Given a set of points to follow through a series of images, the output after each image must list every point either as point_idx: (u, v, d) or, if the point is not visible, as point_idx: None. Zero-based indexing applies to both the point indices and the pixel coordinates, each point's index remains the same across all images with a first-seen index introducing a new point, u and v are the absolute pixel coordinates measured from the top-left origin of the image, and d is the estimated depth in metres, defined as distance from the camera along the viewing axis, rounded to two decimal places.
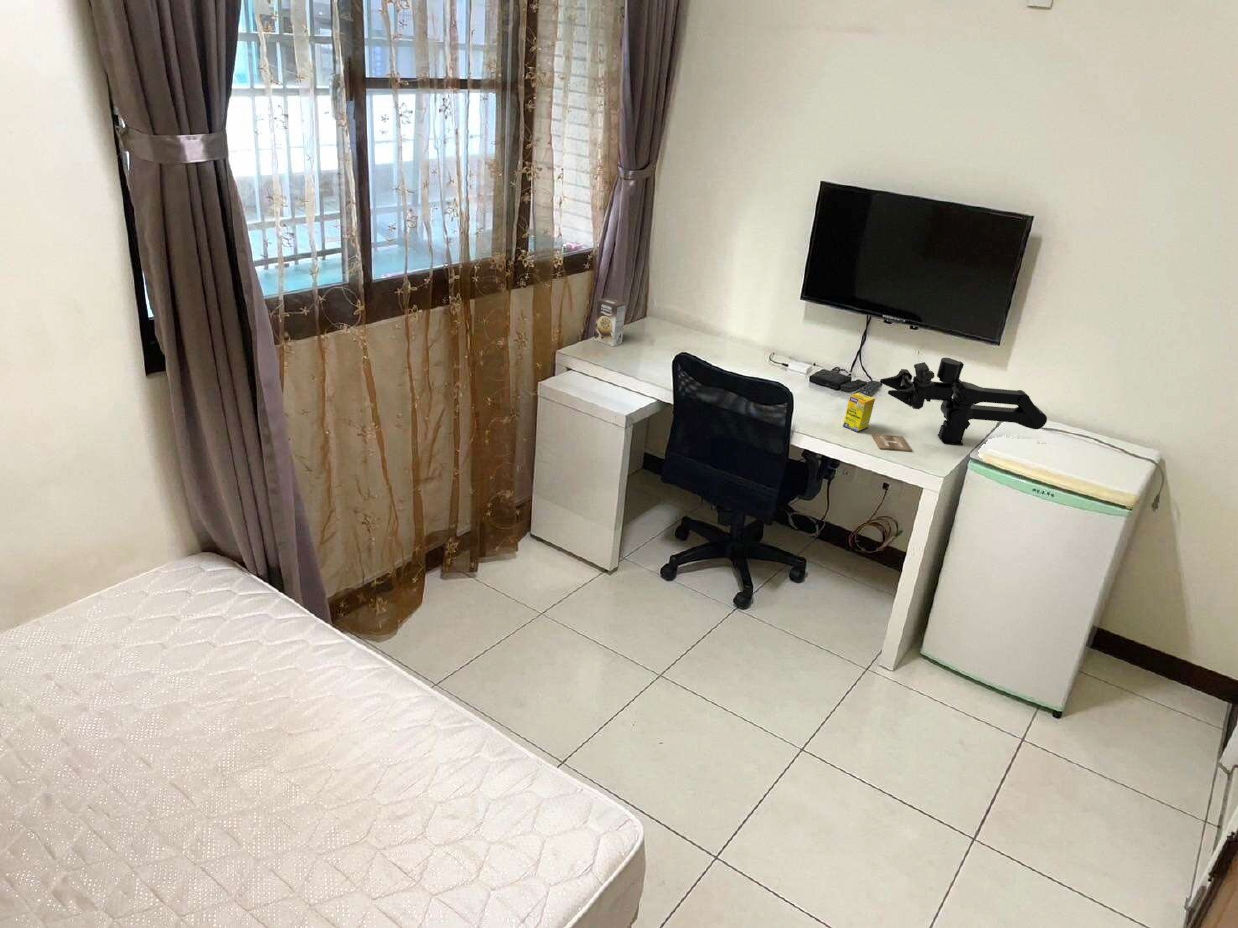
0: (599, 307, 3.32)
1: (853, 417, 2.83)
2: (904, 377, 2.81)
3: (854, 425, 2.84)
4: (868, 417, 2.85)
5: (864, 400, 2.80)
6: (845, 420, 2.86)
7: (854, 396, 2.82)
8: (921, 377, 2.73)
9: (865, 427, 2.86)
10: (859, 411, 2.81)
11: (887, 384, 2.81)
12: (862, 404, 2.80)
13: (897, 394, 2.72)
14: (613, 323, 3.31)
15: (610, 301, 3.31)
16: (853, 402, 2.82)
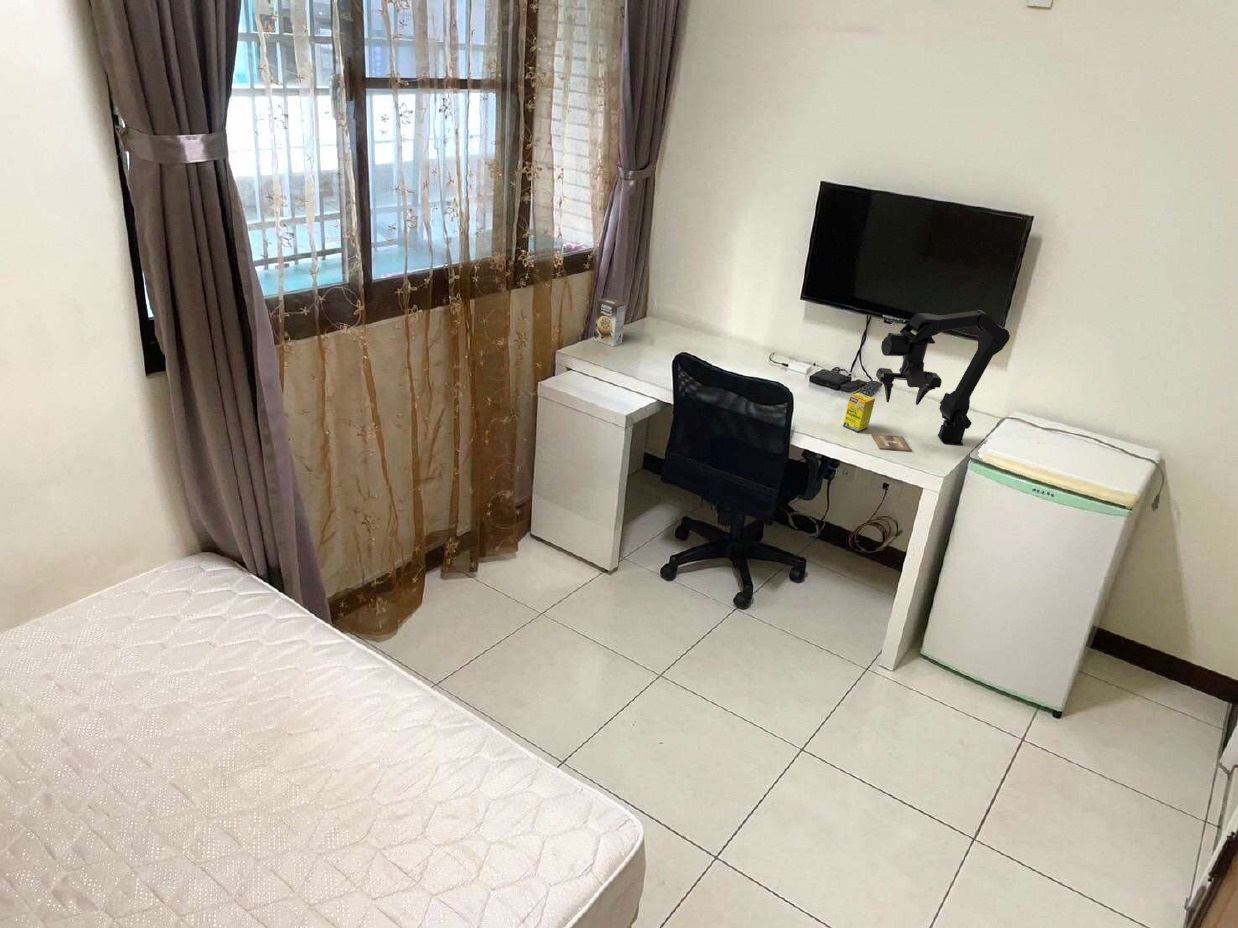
0: (599, 307, 3.32)
1: (853, 417, 2.83)
2: None
3: (854, 425, 2.84)
4: (868, 417, 2.85)
5: (864, 400, 2.80)
6: (845, 420, 2.86)
7: (854, 396, 2.82)
8: None
9: (865, 427, 2.86)
10: (859, 411, 2.81)
11: None
12: (862, 404, 2.80)
13: None
14: (613, 323, 3.31)
15: (610, 301, 3.31)
16: (853, 402, 2.82)
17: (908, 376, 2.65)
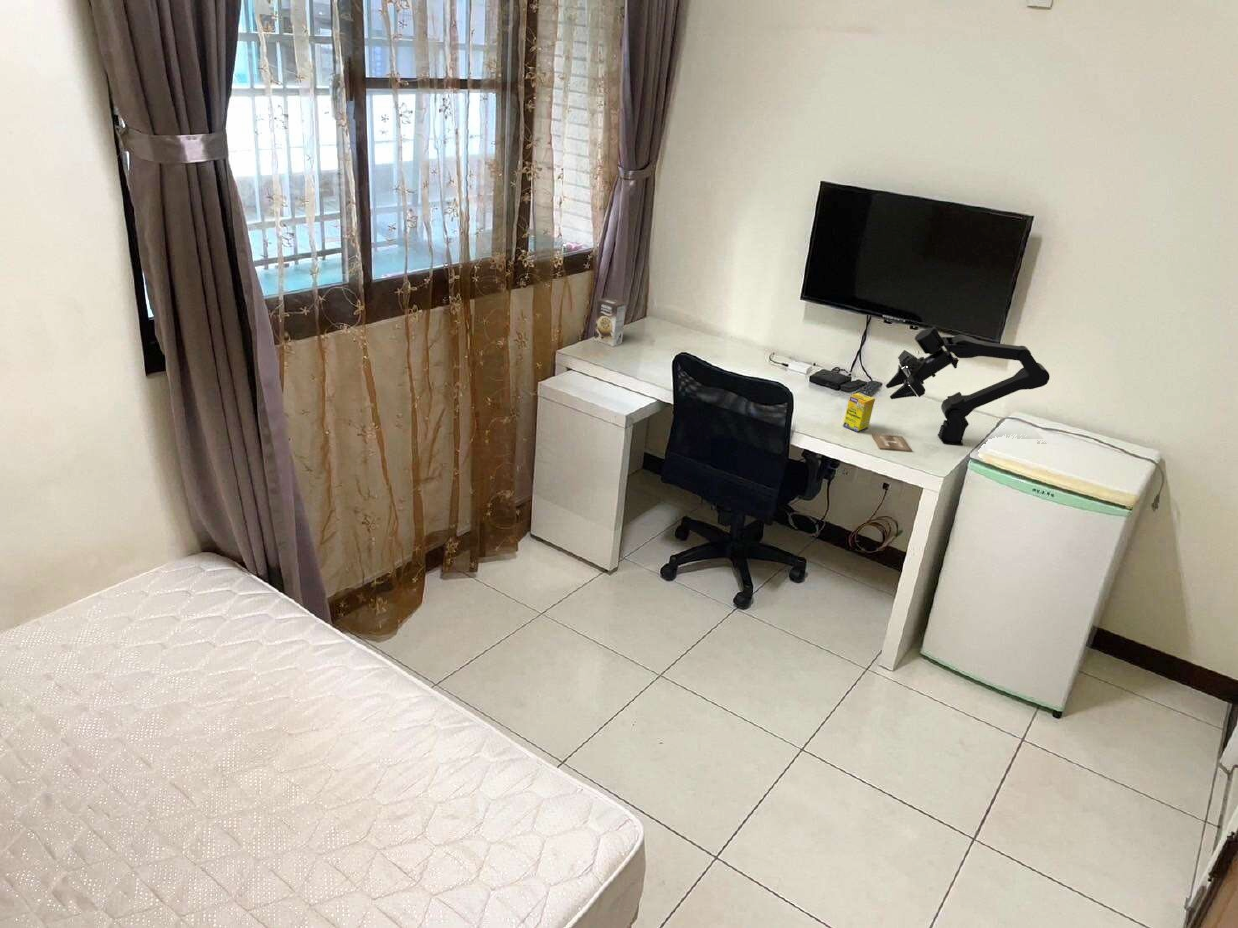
0: (599, 307, 3.32)
1: (853, 417, 2.83)
2: (904, 368, 2.82)
3: (854, 425, 2.84)
4: (868, 417, 2.85)
5: (864, 400, 2.80)
6: (845, 420, 2.86)
7: (854, 396, 2.82)
8: (908, 365, 2.74)
9: (865, 427, 2.86)
10: (859, 411, 2.81)
11: (895, 385, 2.84)
12: (862, 404, 2.80)
13: (898, 394, 2.75)
14: (613, 323, 3.31)
15: (610, 301, 3.31)
16: (853, 402, 2.82)
17: None
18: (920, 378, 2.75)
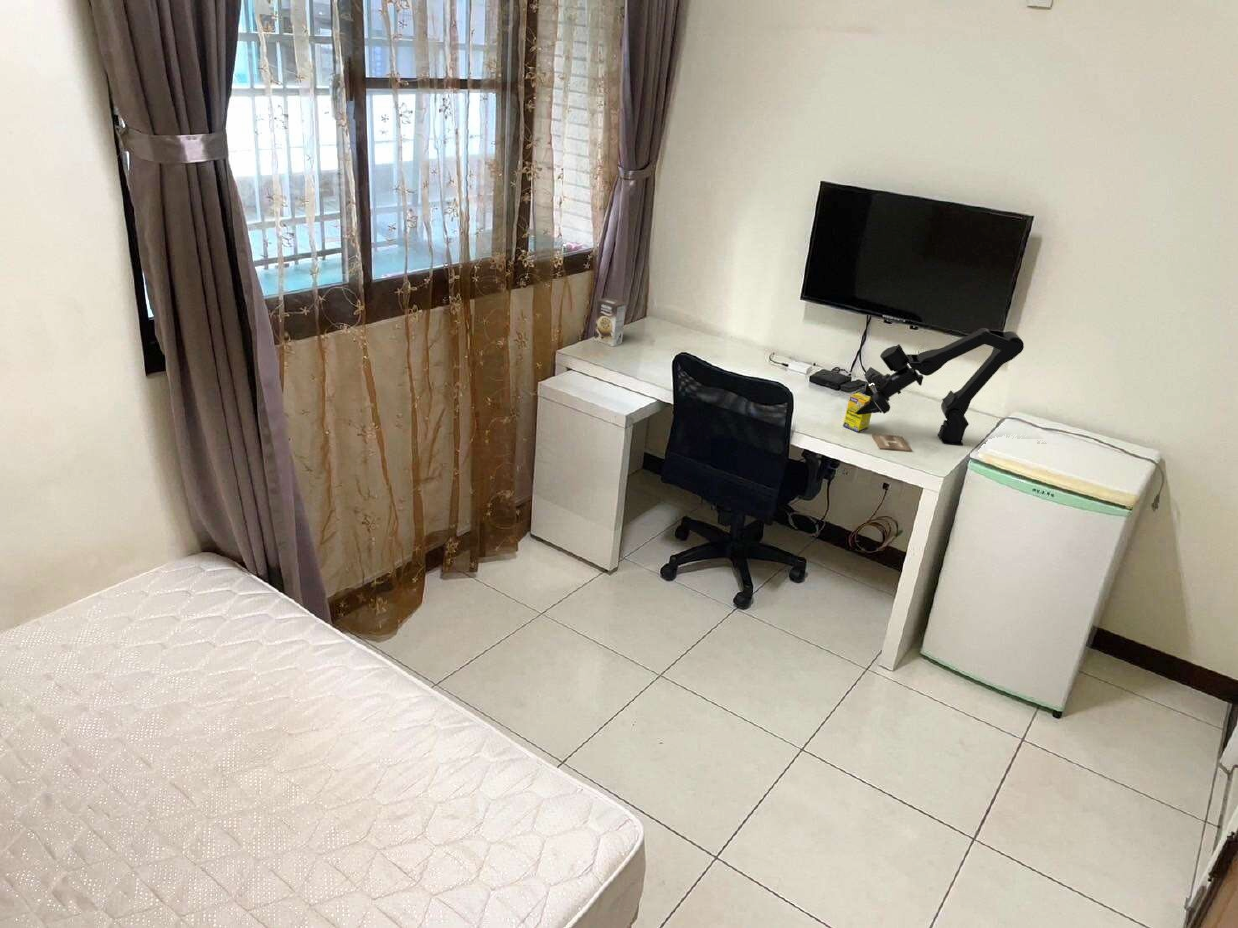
0: (599, 307, 3.32)
1: (853, 417, 2.83)
2: (871, 385, 2.86)
3: (854, 425, 2.84)
4: (868, 417, 2.85)
5: (864, 400, 2.80)
6: (845, 420, 2.86)
7: (854, 396, 2.82)
8: (874, 382, 2.78)
9: (865, 427, 2.86)
10: None
11: None
12: (862, 404, 2.80)
13: (864, 410, 2.79)
14: (613, 323, 3.31)
15: (610, 301, 3.31)
16: (853, 401, 2.82)
17: None
18: (886, 395, 2.79)
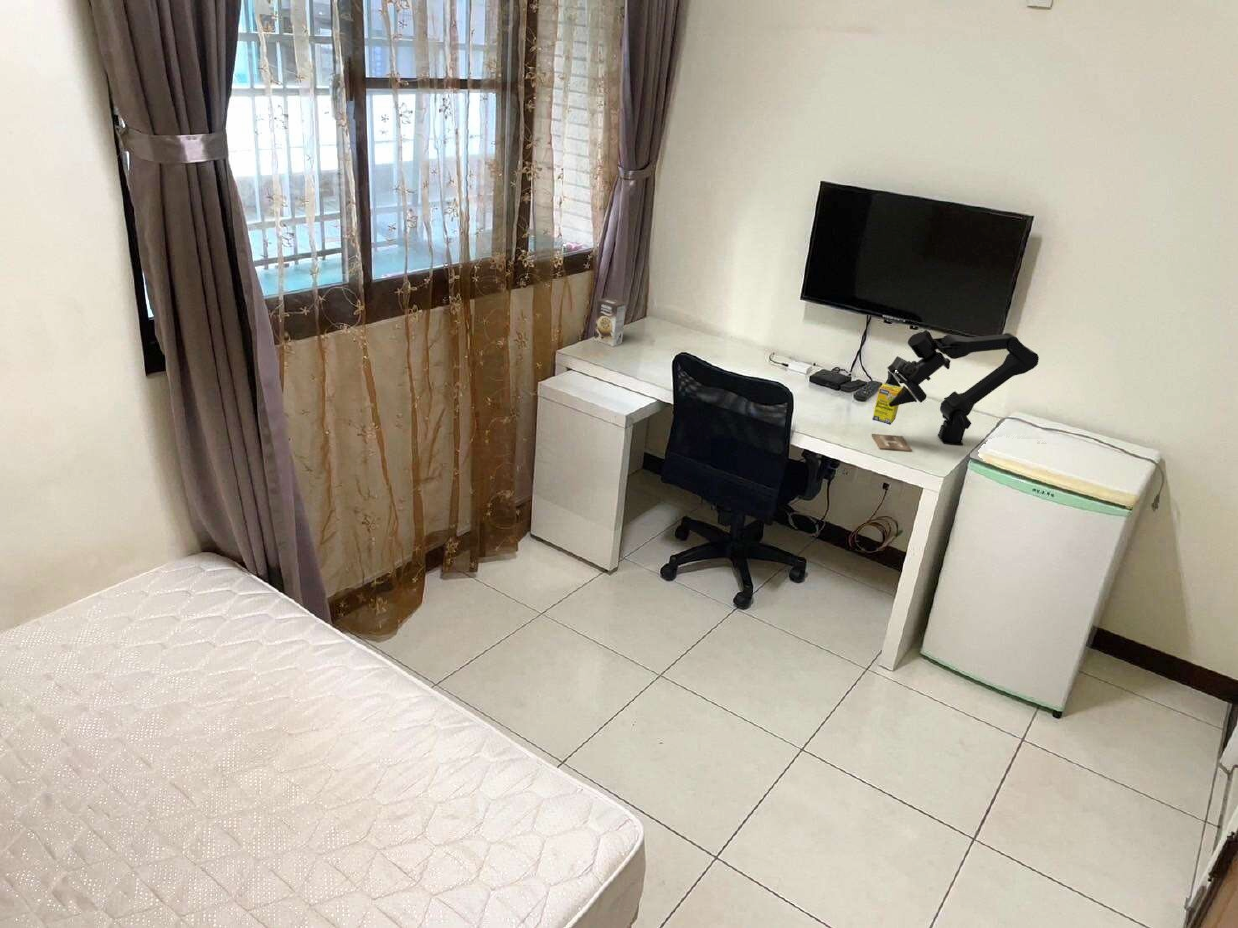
0: (599, 307, 3.32)
1: (885, 409, 2.74)
2: (895, 374, 2.77)
3: (885, 417, 2.75)
4: (897, 407, 2.76)
5: (895, 391, 2.71)
6: (875, 413, 2.76)
7: (883, 388, 2.73)
8: (905, 371, 2.69)
9: (894, 418, 2.78)
10: None
11: None
12: (894, 395, 2.71)
13: (898, 401, 2.70)
14: (613, 323, 3.31)
15: (610, 301, 3.31)
16: (883, 394, 2.72)
17: None
18: (916, 383, 2.71)
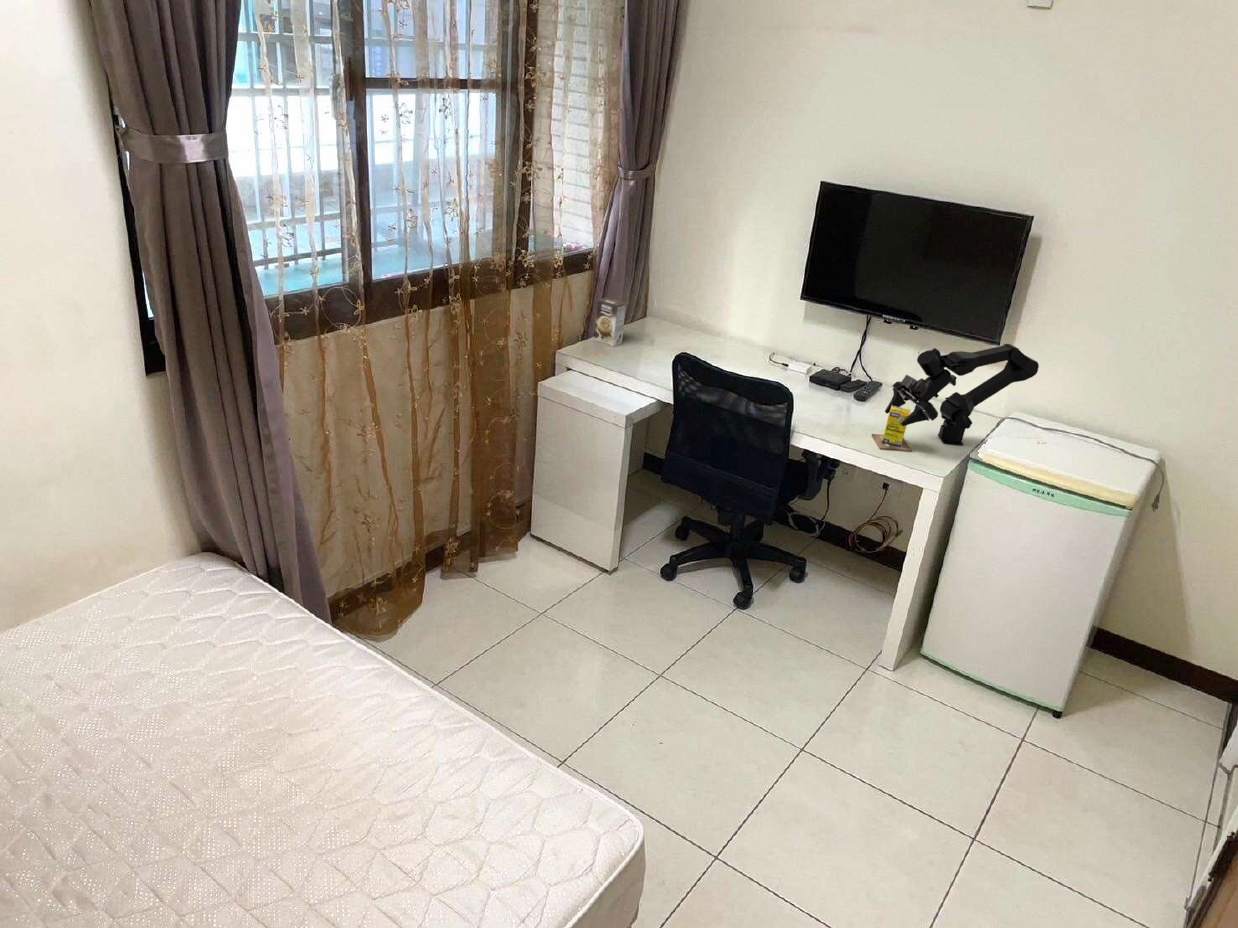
0: (599, 307, 3.32)
1: (895, 432, 2.74)
2: (901, 391, 2.78)
3: (895, 440, 2.75)
4: None
5: (906, 413, 2.72)
6: (884, 436, 2.76)
7: (893, 411, 2.73)
8: (915, 390, 2.69)
9: None
10: (901, 425, 2.73)
11: None
12: (905, 418, 2.71)
13: (910, 420, 2.70)
14: (613, 323, 3.31)
15: (610, 301, 3.31)
16: (894, 417, 2.72)
17: None
18: None
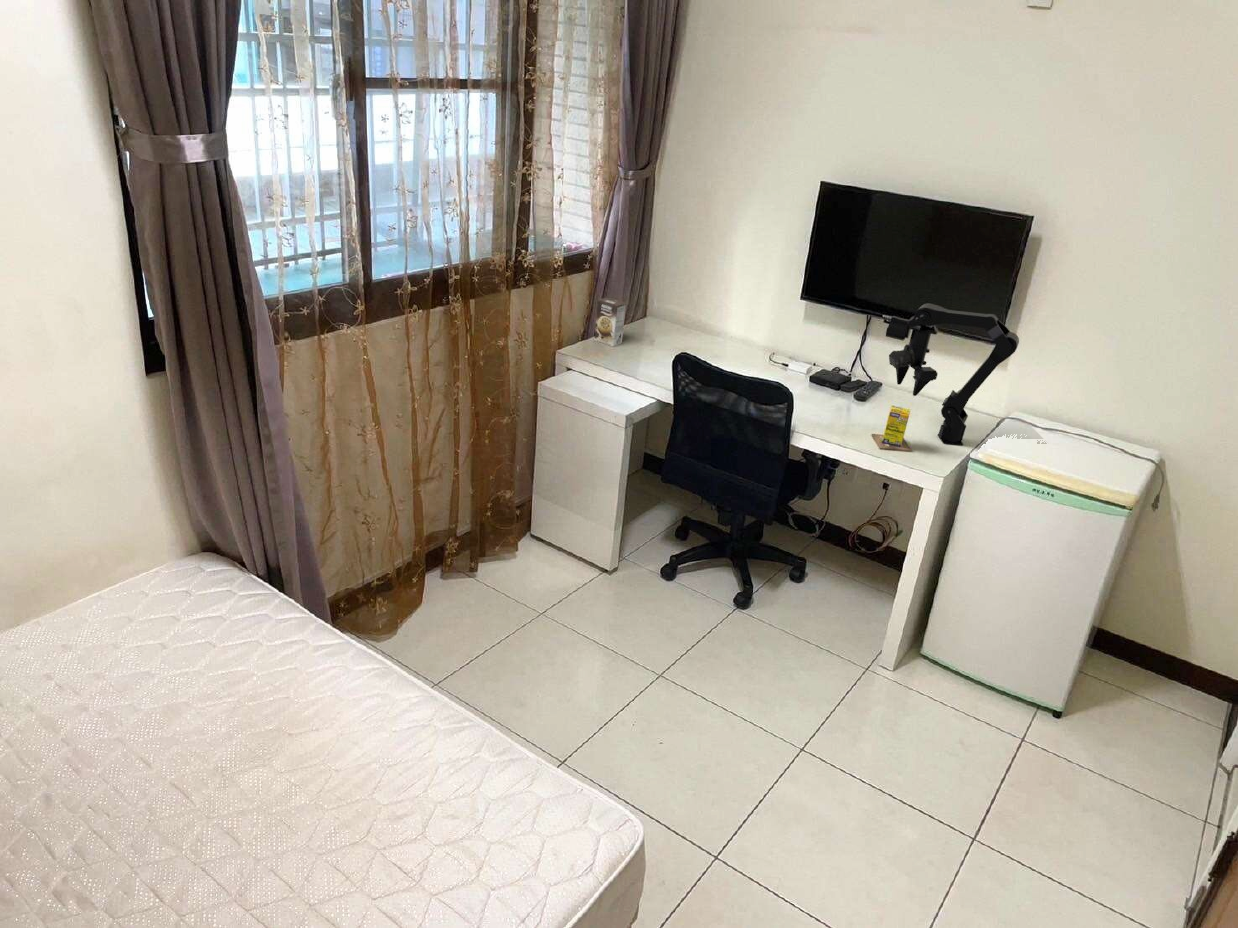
0: (599, 307, 3.32)
1: (895, 432, 2.74)
2: None
3: (895, 440, 2.75)
4: None
5: (906, 413, 2.72)
6: (884, 436, 2.76)
7: (893, 411, 2.73)
8: None
9: None
10: (901, 425, 2.73)
11: (903, 377, 2.89)
12: (905, 418, 2.71)
13: (918, 389, 2.80)
14: (613, 323, 3.31)
15: (610, 301, 3.31)
16: (894, 417, 2.72)
17: None
18: (921, 362, 2.79)
